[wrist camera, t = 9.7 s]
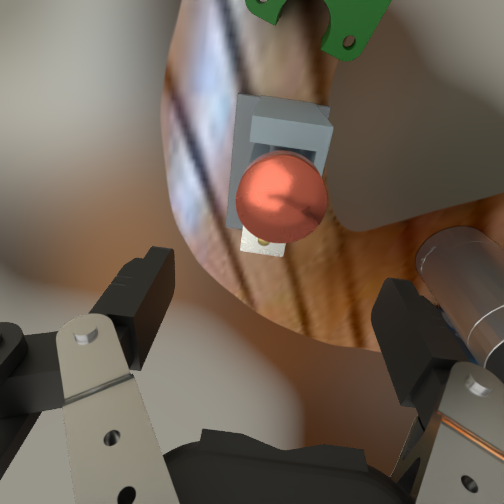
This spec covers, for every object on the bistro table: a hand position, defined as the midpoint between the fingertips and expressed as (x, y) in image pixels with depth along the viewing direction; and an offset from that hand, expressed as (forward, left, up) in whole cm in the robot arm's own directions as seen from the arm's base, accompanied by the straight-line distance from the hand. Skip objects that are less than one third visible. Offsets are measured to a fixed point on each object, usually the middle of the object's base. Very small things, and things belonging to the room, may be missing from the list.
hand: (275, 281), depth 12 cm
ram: (0, 0, -20) cm, 20 cm away
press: (0, +5, -28) cm, 28 cm away
